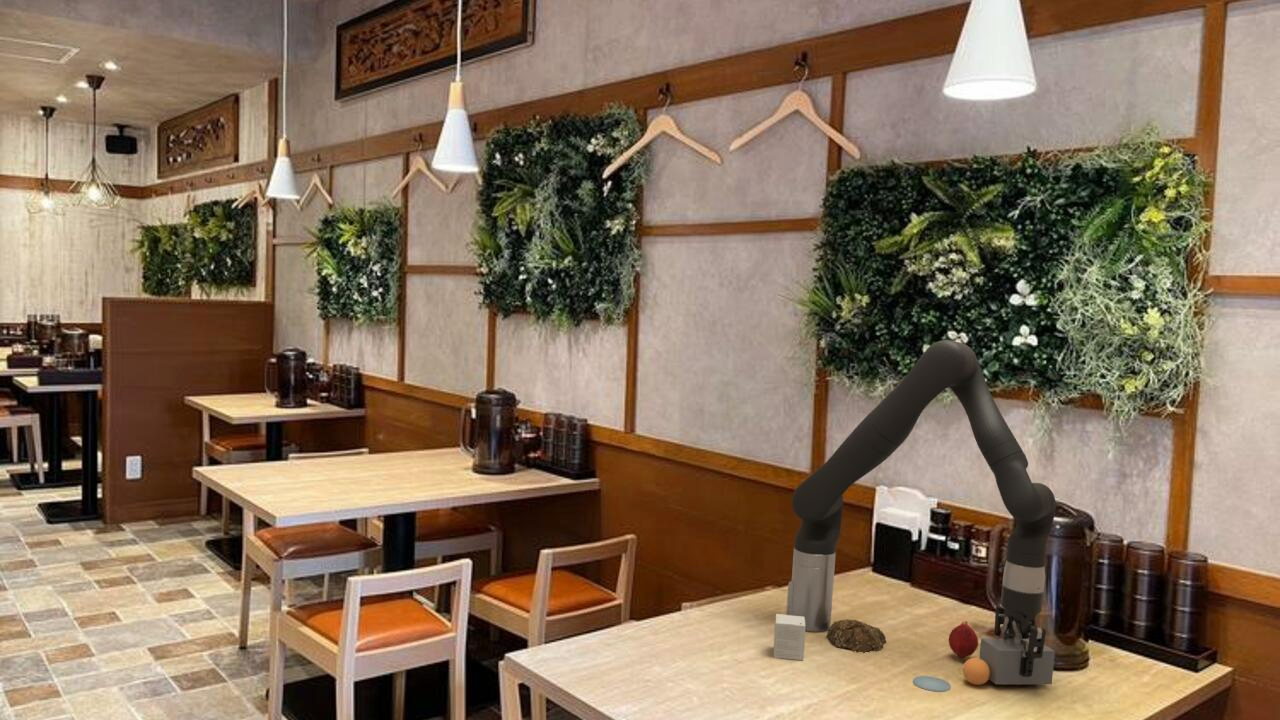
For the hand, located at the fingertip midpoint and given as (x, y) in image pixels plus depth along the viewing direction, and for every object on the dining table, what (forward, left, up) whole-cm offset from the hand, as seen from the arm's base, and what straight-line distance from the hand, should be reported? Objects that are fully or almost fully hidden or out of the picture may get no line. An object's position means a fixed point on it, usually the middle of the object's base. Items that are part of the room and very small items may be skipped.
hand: (1015, 668), depth 188 cm
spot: (-14, -11, -3) cm, 18 cm away
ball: (-6, -6, 0) cm, 9 cm away
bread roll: (-32, +3, -4) cm, 33 cm away
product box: (-42, -13, -3) cm, 44 cm away
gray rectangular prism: (0, 0, -2) cm, 2 cm away
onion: (-11, +7, -3) cm, 14 cm away
